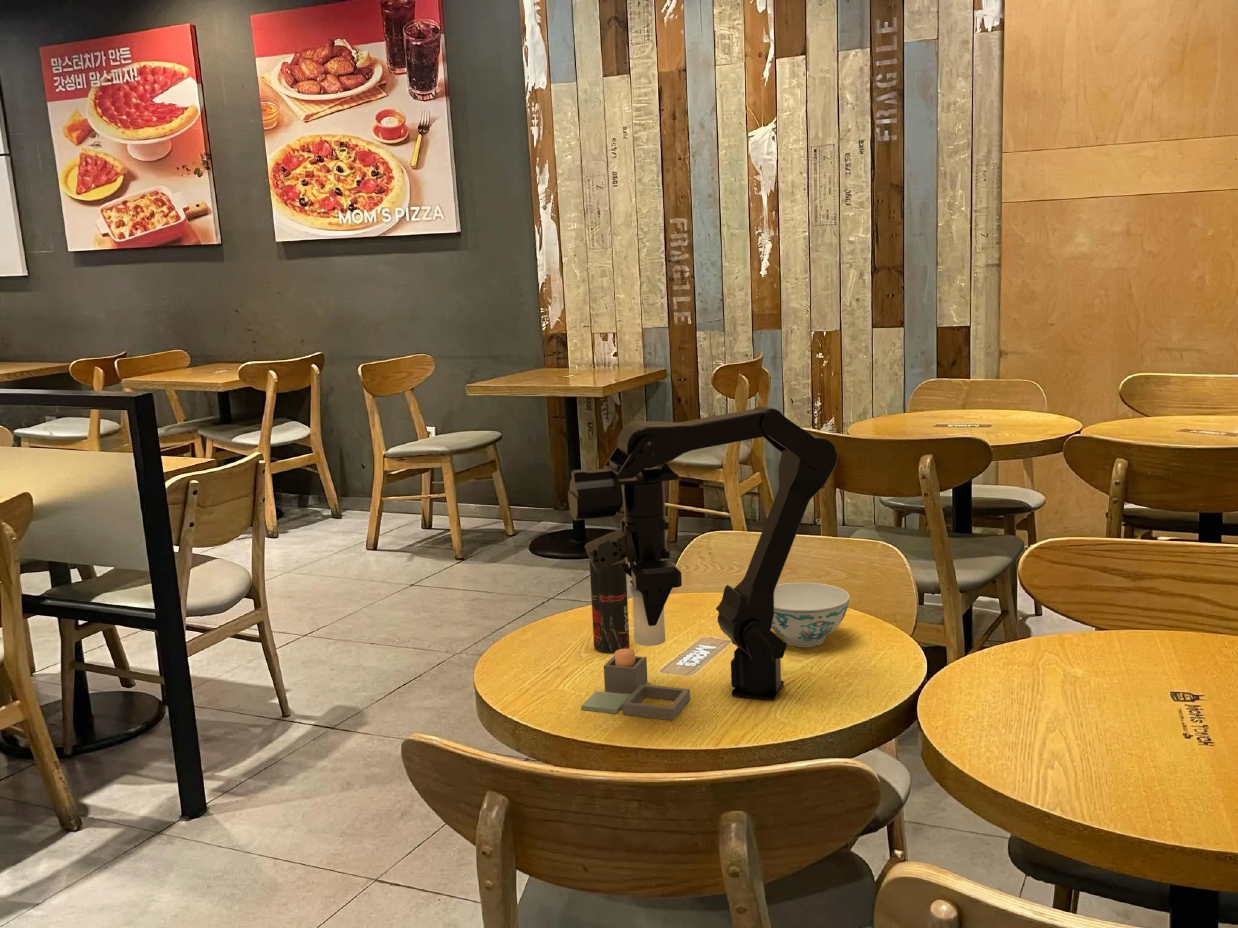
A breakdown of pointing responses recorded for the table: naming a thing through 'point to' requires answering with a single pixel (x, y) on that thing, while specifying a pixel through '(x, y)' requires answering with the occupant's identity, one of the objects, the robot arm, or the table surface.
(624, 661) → the button
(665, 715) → the socket
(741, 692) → the robot arm
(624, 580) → the deodorant
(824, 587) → the chinaware
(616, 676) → the box
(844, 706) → the table surface
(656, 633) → the cylinder
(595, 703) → the coaster
